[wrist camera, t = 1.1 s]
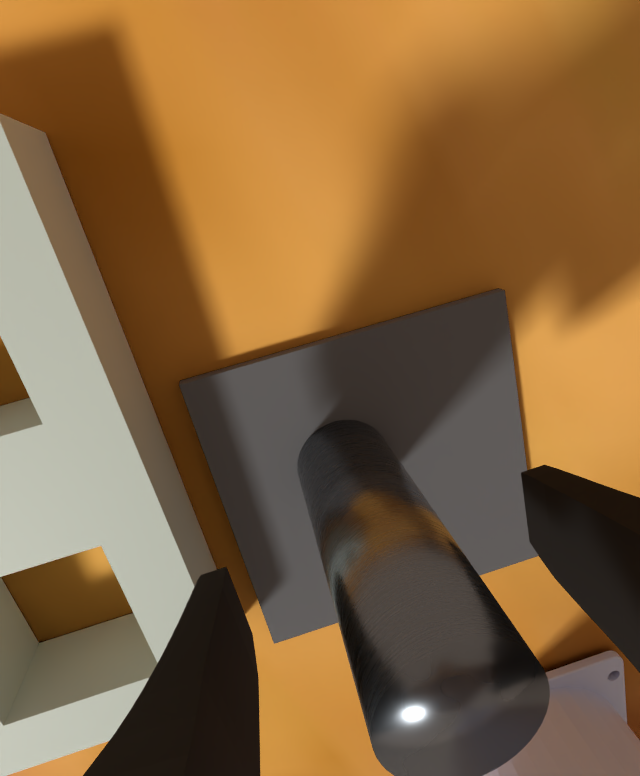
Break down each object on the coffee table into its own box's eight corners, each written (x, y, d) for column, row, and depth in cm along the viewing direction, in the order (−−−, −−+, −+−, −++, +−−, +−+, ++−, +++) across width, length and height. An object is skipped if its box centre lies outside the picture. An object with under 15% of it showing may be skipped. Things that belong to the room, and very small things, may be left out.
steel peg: (397, 489, 17) (557, 748, 9) (310, 516, 17) (391, 809, 9) (379, 408, 16) (540, 615, 8) (286, 436, 16) (351, 680, 8)
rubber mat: (531, 549, 20) (537, 555, 19) (273, 635, 19) (274, 643, 19) (498, 288, 16) (504, 290, 16) (180, 380, 16) (179, 385, 15)
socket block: (237, 623, 19) (240, 696, 16) (9, 697, 18) (-31, 787, 15) (45, 132, 13) (-5, 111, 10) (-295, 217, 12) (-447, 219, 10)
